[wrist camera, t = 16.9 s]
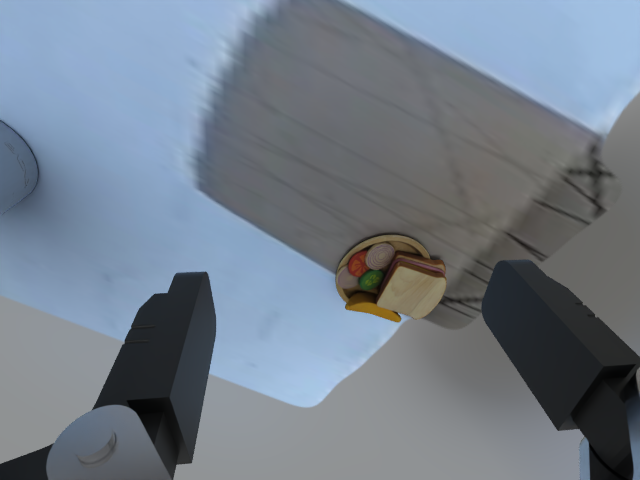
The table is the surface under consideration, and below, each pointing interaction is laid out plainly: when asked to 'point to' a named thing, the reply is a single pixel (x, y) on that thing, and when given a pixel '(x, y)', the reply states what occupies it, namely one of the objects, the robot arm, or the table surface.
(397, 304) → the toy sandwich meal
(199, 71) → the table surface
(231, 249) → the table surface
